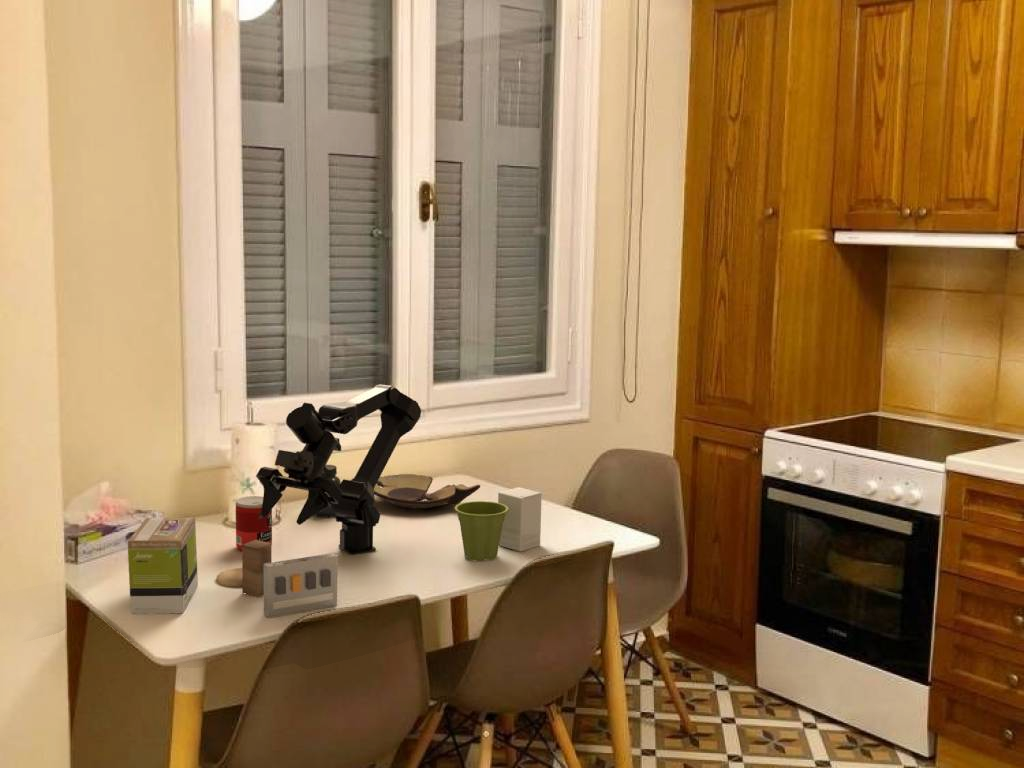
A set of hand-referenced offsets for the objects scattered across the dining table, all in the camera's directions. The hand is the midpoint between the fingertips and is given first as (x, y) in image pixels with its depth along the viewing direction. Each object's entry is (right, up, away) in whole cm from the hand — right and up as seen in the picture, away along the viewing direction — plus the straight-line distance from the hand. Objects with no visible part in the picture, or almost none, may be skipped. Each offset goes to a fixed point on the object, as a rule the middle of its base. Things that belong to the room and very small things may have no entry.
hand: (280, 519), depth 227 cm
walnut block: (-4, -14, -4) cm, 15 cm away
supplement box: (+48, -10, +31) cm, 59 cm away
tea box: (-20, -15, -10) cm, 27 cm away
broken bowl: (+23, -4, +61) cm, 66 cm away
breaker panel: (+7, -16, -13) cm, 21 cm away
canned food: (-11, -9, +23) cm, 27 cm away
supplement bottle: (+1, -5, +52) cm, 52 cm away
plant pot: (+40, -11, +22) cm, 47 cm away
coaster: (-9, -13, +4) cm, 16 cm away
